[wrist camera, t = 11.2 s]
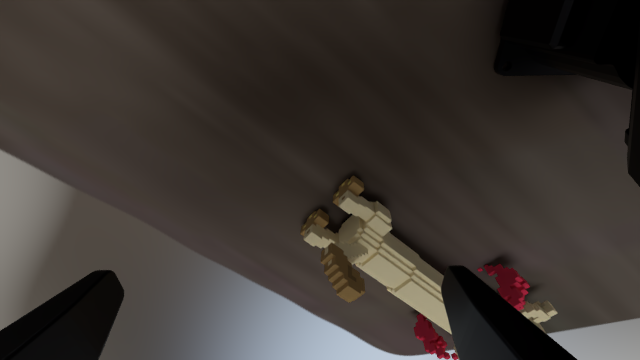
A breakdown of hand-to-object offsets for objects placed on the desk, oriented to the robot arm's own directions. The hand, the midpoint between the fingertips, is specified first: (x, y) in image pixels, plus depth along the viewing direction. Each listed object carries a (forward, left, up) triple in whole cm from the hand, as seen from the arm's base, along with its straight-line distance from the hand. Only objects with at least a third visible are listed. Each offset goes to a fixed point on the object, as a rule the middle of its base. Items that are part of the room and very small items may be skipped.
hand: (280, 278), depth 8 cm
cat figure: (-11, +14, -12) cm, 22 cm away
